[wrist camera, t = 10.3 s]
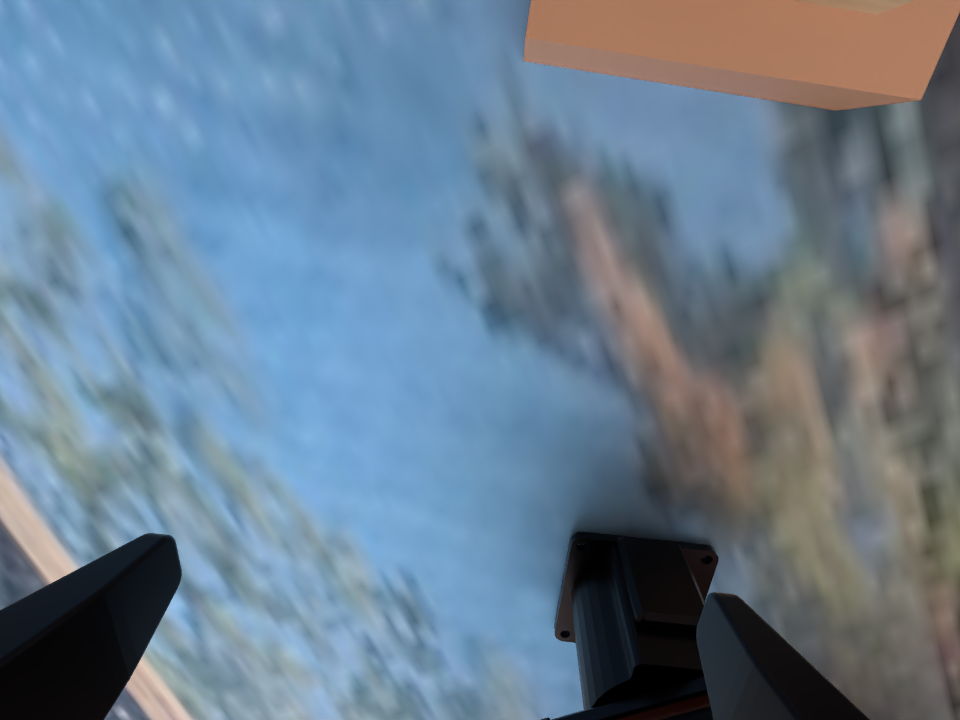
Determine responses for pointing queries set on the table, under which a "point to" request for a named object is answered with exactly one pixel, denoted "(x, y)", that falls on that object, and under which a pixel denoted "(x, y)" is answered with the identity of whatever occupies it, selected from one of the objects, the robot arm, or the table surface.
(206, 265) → the table surface
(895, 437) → the table surface
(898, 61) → the terracotta base block
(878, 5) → the maple cube
